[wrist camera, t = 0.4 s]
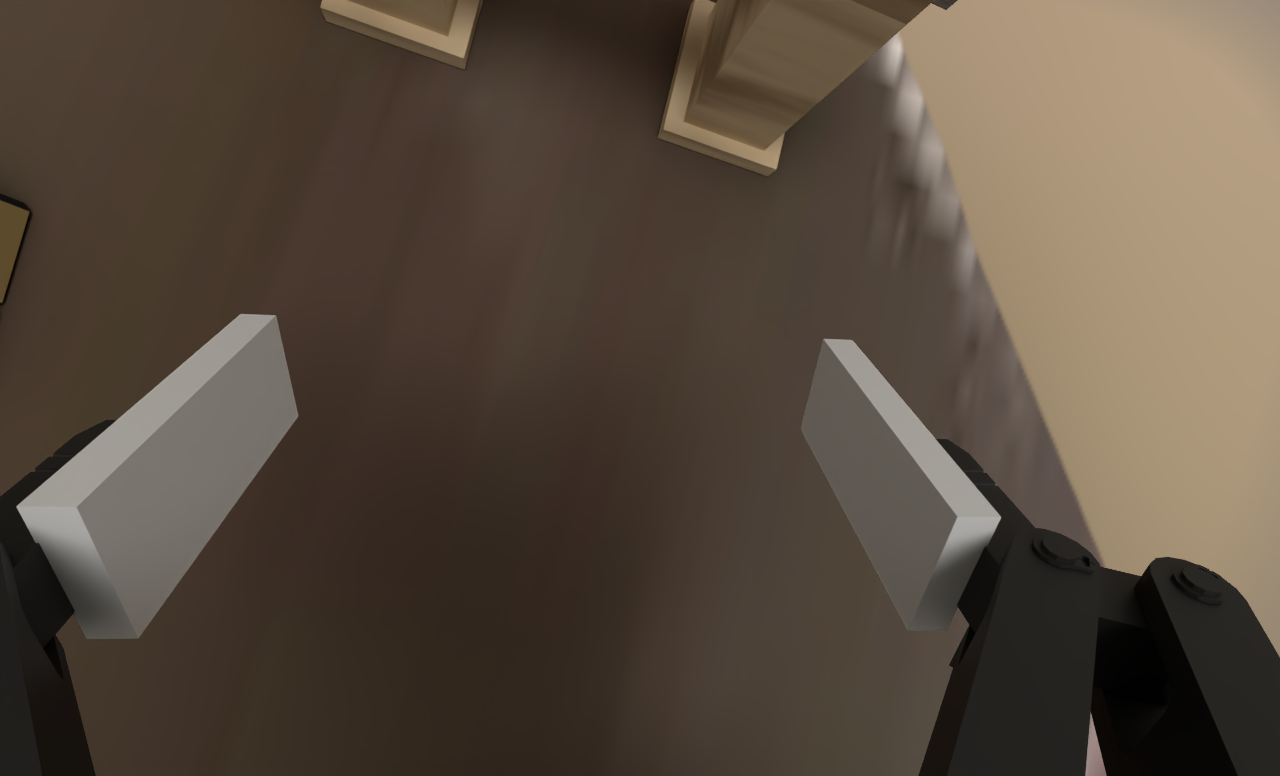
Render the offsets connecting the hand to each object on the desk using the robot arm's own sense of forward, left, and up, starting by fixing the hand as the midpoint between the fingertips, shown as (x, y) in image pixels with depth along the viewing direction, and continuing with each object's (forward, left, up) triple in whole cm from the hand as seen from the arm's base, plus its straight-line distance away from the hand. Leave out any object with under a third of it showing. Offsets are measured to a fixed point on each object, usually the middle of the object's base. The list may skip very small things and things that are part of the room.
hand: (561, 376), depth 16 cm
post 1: (+20, -8, -19) cm, 28 cm away
